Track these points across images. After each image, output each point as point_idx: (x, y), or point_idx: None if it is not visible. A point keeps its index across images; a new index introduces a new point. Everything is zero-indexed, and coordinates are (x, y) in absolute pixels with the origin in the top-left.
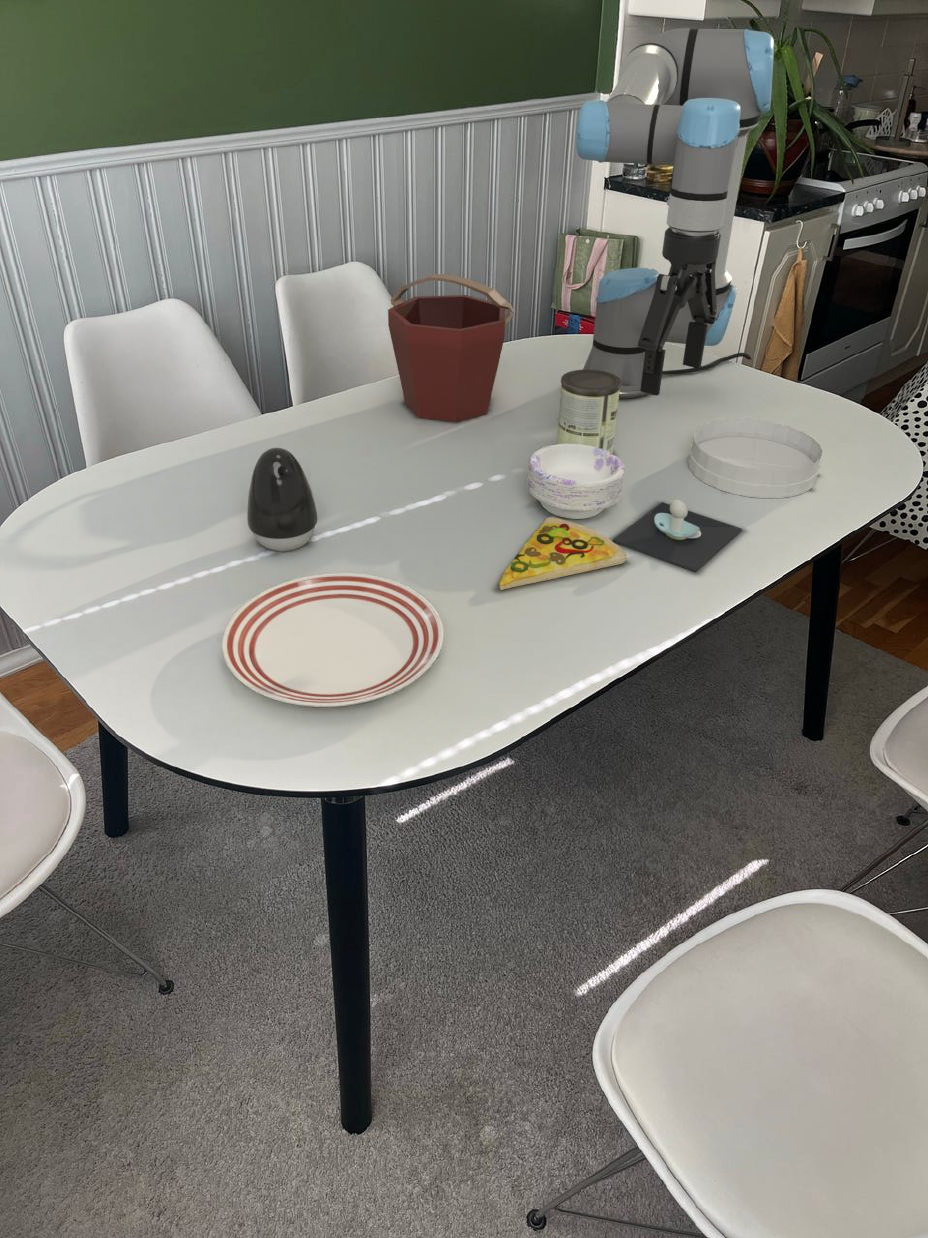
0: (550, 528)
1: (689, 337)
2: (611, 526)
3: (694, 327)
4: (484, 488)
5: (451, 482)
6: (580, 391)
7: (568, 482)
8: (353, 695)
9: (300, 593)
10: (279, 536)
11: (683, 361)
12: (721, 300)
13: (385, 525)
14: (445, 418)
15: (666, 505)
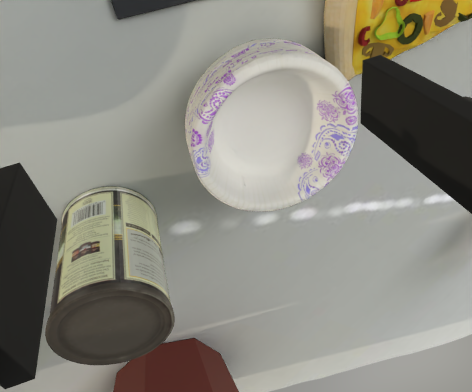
0: (375, 50)
1: (37, 301)
2: (259, 16)
3: (17, 340)
4: (299, 204)
5: (313, 230)
6: (167, 300)
7: (352, 93)
8: None
9: None
10: None
11: (55, 226)
12: None
13: (435, 184)
14: (203, 345)
15: (120, 3)
